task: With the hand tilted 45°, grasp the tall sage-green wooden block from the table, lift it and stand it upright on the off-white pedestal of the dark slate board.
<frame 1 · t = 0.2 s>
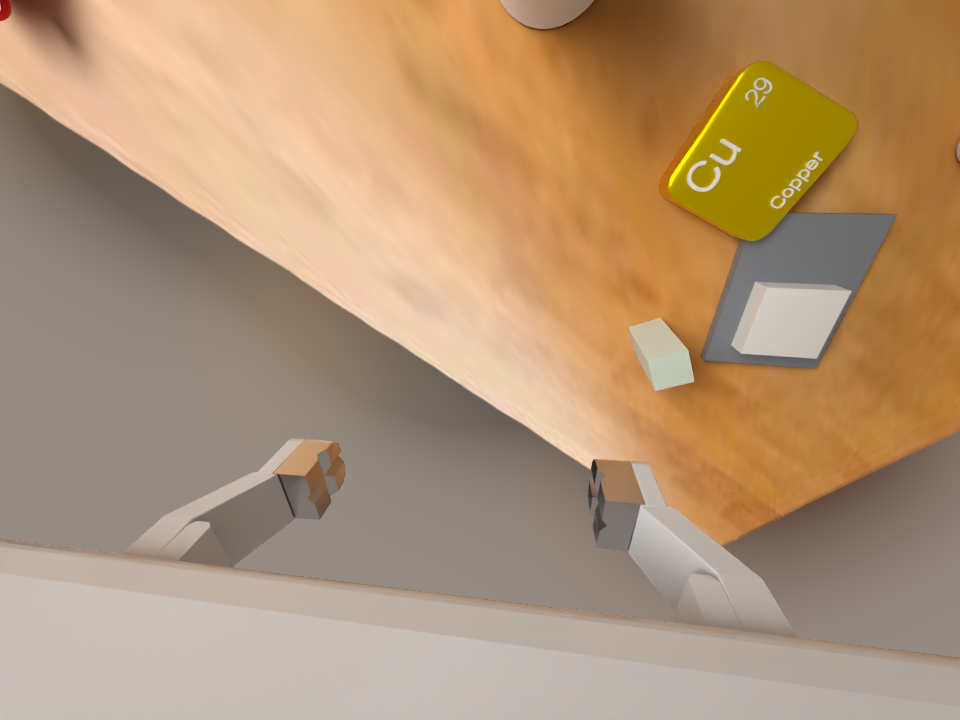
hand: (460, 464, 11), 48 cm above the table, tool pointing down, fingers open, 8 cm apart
slate board: (781, 294, 50), on the table
element tile: (738, 161, 45), on the table, touching slate board
sage block: (647, 336, 56), on the table
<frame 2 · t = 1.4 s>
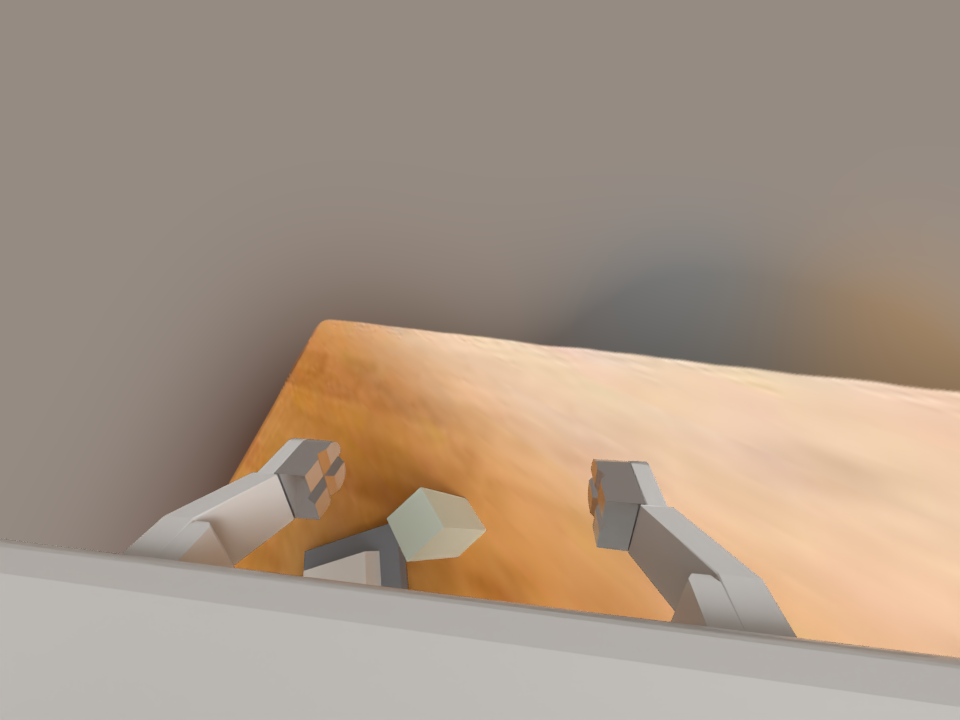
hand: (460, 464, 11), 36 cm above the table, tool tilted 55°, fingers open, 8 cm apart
slate board: (358, 628, 45), on the table
sage block: (462, 526, 45), on the table
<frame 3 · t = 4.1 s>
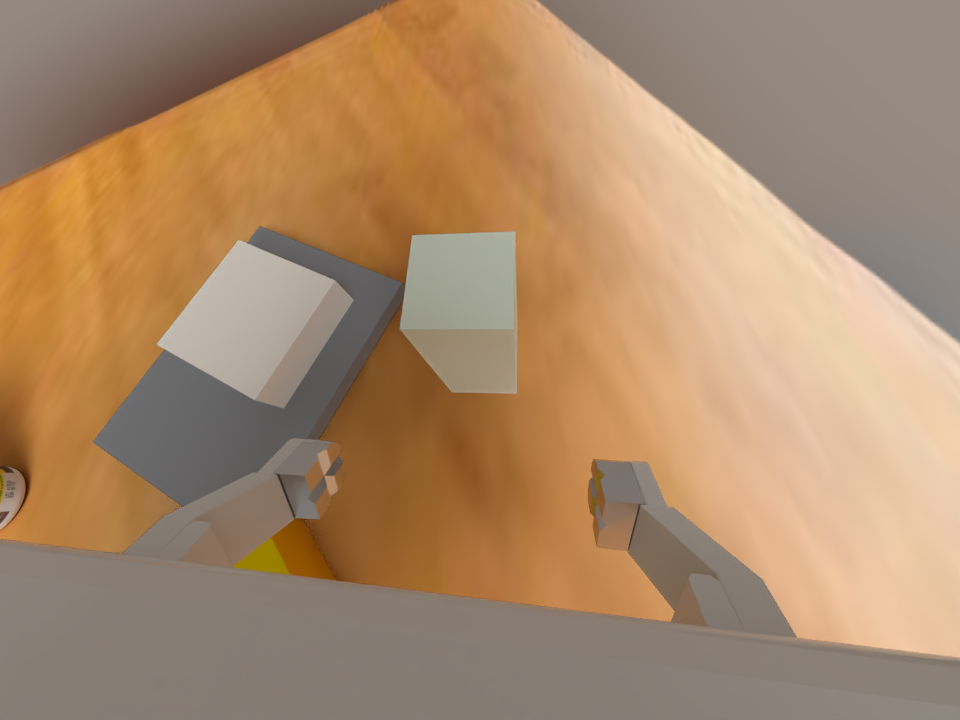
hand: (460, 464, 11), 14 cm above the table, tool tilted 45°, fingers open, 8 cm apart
slate board: (264, 365, 29), on the table
supplement bottle: (2, 501, 28), on the table
element tile: (247, 654, 23), on the table, touching slate board
sage block: (485, 362, 27), on the table
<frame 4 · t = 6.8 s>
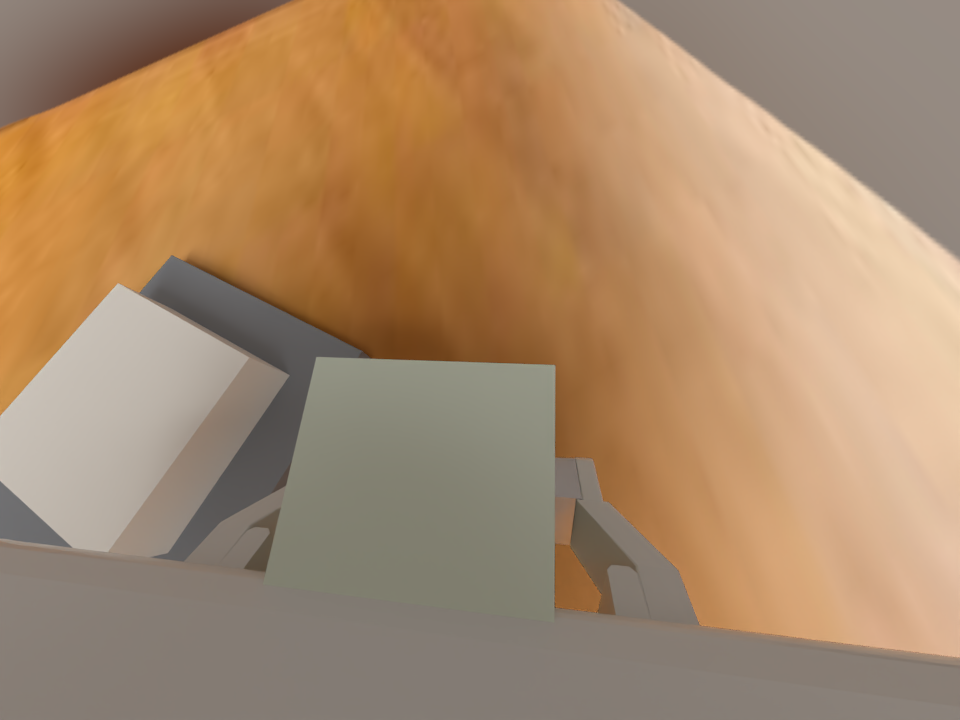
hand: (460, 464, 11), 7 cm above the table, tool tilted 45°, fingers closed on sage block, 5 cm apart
slate board: (159, 466, 20), on the table
sage block: (483, 481, 17), on the table, touching gripper
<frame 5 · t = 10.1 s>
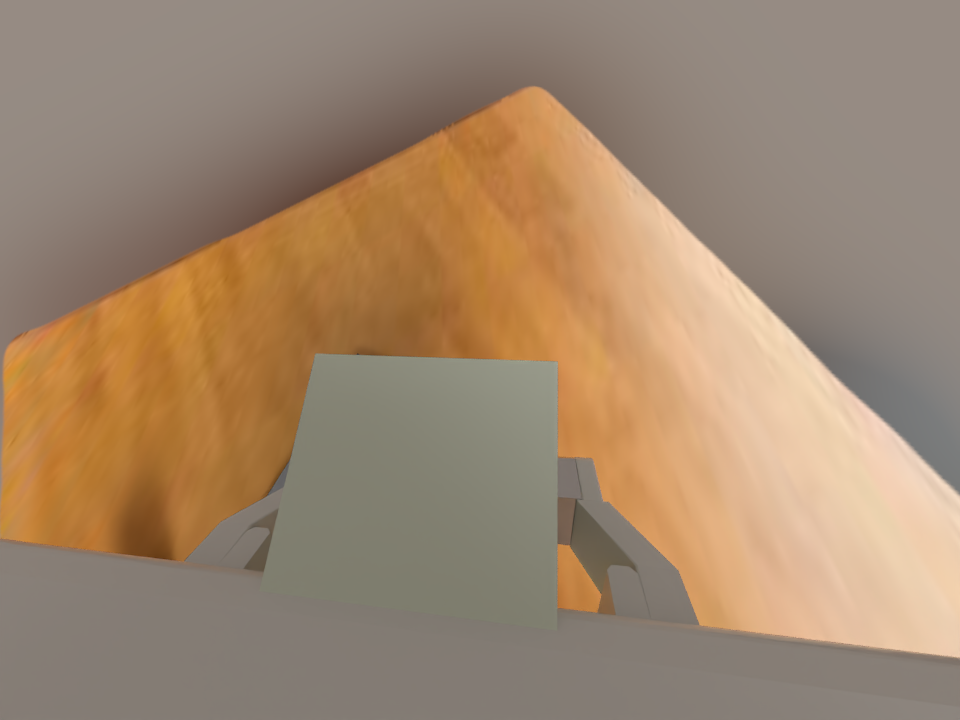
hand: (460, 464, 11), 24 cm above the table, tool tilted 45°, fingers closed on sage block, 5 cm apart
sage block: (483, 480, 17), point 16 cm above the table, touching gripper
when the fingers open (13 cm above the table, at t = 13.4 s): sage block drops 2 cm, resting on slate board.
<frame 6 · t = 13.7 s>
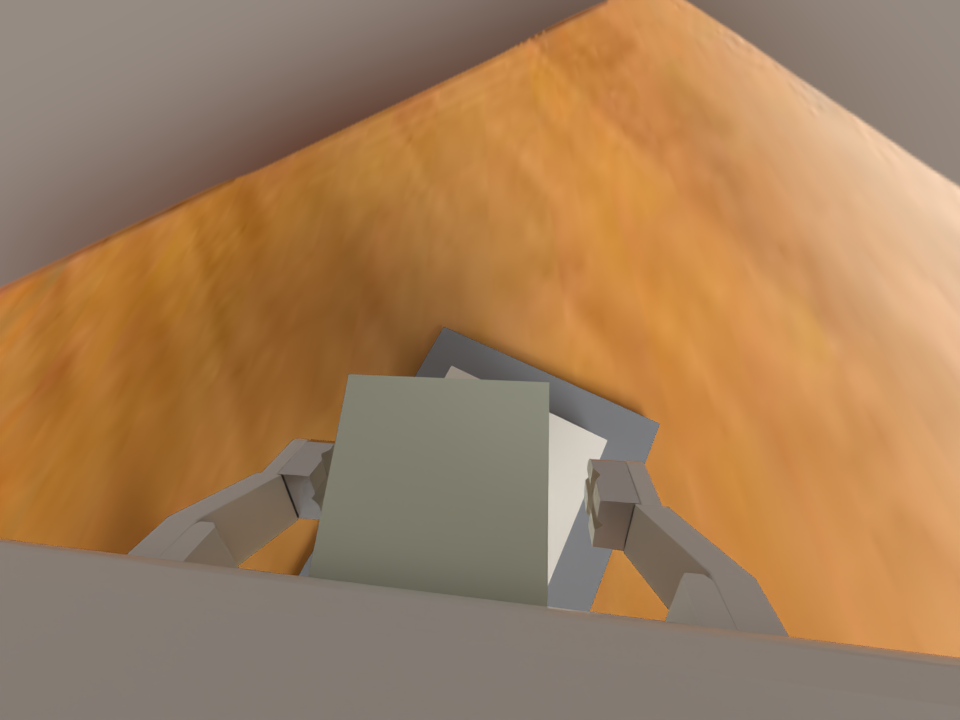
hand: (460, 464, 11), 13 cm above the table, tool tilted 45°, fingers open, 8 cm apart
slate board: (471, 522, 22), on the table
sage block: (485, 480, 19), point 4 cm above the table, touching slate board
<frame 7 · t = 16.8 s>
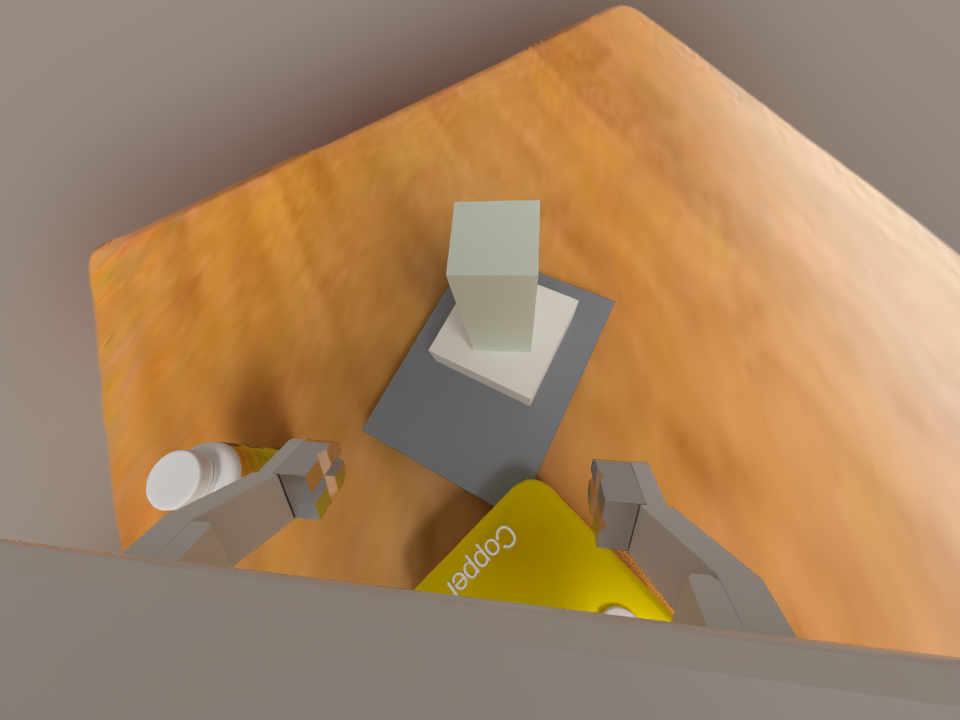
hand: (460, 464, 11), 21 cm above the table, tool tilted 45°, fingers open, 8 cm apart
slate board: (492, 369, 34), on the table
supplement bottle: (275, 478, 33), on the table
element tile: (532, 604, 28), on the table
sage block: (503, 325, 30), point 4 cm above the table, touching slate board
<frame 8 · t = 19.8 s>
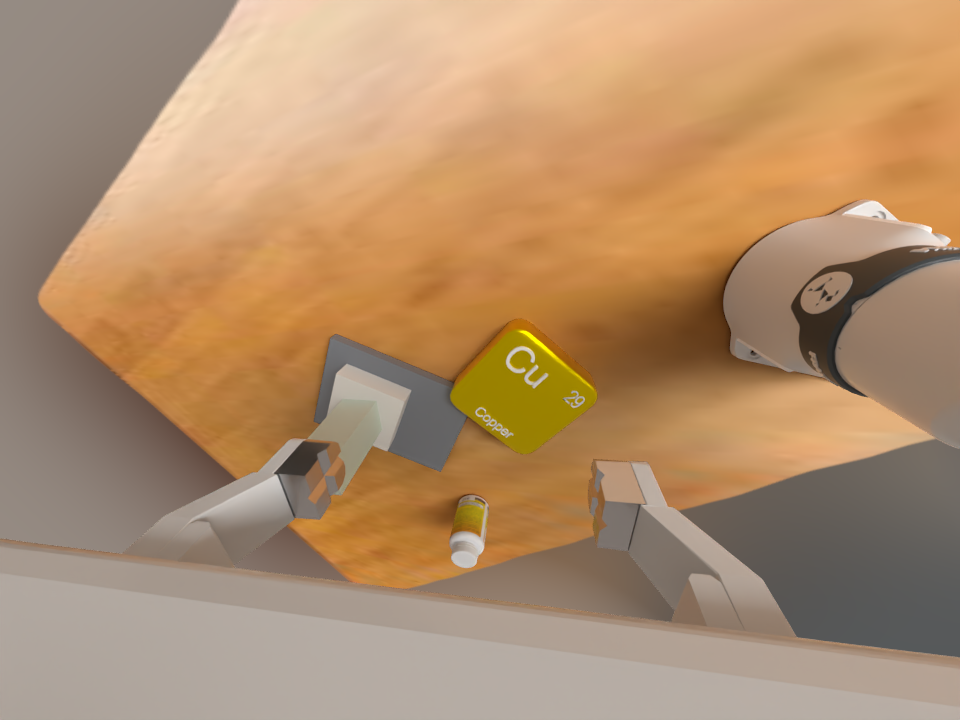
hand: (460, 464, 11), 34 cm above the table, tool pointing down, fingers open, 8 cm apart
slate board: (393, 404, 53), on the table
supplement bottle: (474, 503, 61), on the table
element tile: (522, 381, 49), on the table
sage block: (362, 414, 49), point 4 cm above the table, touching slate board
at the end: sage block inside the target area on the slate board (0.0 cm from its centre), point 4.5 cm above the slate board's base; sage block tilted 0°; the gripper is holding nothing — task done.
